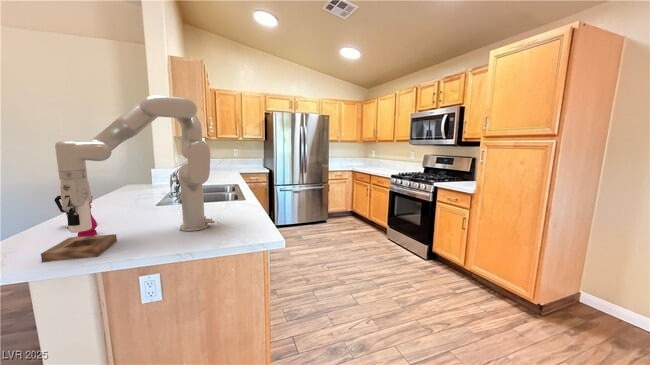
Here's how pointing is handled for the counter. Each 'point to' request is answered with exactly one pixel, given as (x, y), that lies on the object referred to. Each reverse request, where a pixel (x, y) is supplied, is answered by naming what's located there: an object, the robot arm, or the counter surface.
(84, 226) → the can
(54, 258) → the socket board
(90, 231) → the pepper mill
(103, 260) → the counter surface
